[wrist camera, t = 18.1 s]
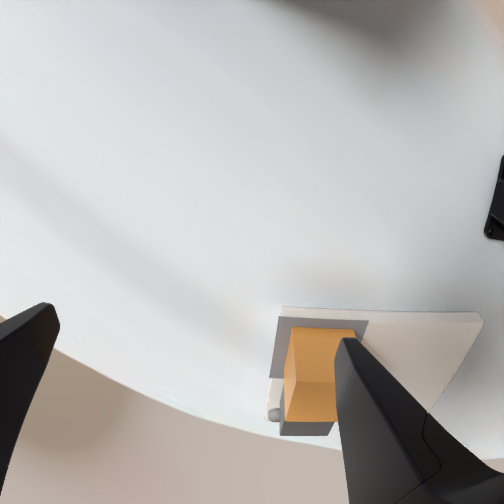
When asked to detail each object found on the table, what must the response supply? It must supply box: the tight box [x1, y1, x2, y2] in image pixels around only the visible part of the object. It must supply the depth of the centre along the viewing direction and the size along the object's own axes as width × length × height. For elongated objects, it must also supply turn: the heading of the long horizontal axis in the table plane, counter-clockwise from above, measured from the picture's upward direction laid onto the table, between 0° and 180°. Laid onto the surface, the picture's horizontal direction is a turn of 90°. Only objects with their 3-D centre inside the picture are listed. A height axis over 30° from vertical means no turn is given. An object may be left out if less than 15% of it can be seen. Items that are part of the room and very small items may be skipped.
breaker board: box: [265, 306, 484, 422], centre depth 25 cm, size 18×13×2 cm
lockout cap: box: [284, 327, 356, 422], centre depth 20 cm, size 4×4×5 cm
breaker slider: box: [280, 385, 334, 436], centre depth 23 cm, size 4×3×4 cm
